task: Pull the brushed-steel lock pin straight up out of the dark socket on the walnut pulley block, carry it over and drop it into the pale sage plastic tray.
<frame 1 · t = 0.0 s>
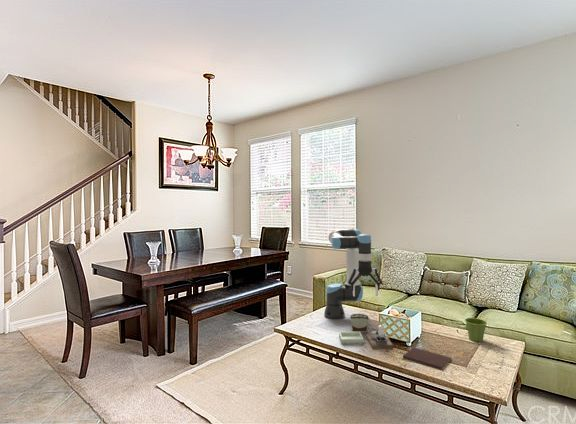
hand: (365, 295, 198), 28 cm above the table, fingers open, 13 cm apart
notebook: (426, 360, 176), on the table
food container: (359, 330, 218), on the table
lock pin: (381, 342, 192), point 2 cm above the table, touching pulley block
tray: (351, 340, 202), on the table
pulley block: (379, 342, 197), on the table
plant pot: (476, 340, 199), on the table
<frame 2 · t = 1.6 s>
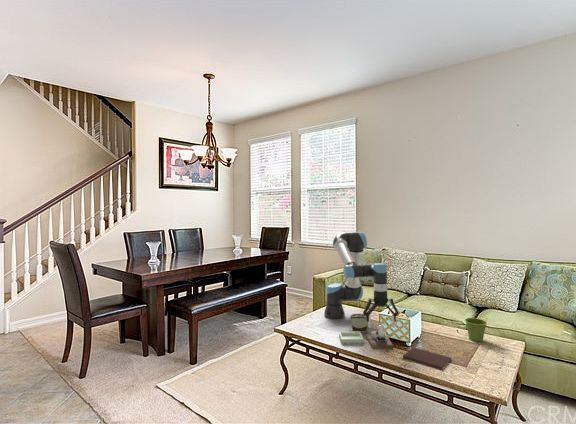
hand: (381, 326, 192), 11 cm above the table, fingers open, 13 cm apart
nothing on the table moved.
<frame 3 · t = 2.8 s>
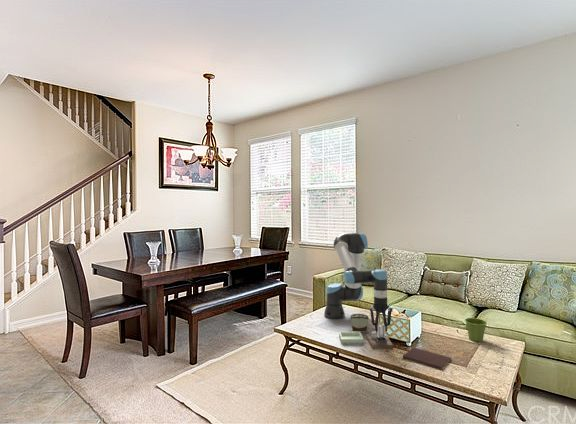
hand: (381, 336, 192), 6 cm above the table, fingers closed on lock pin, 3 cm apart
lock pin: (381, 342, 192), point 2 cm above the table, touching gripper
everything else where it was.
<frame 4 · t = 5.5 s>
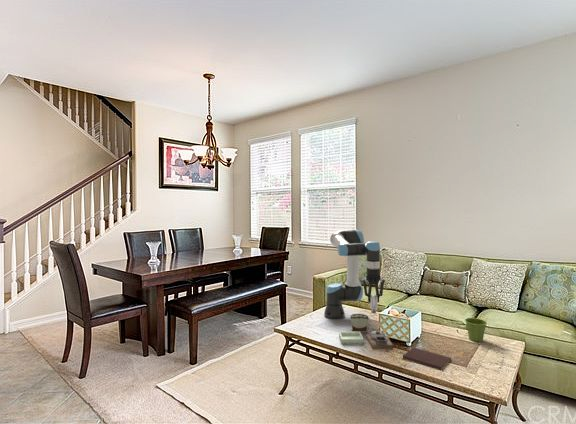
hand: (373, 307, 194), 22 cm above the table, fingers closed on lock pin, 2 cm apart
lock pin: (373, 312, 194), point 19 cm above the table, touching gripper
everything else where it was.
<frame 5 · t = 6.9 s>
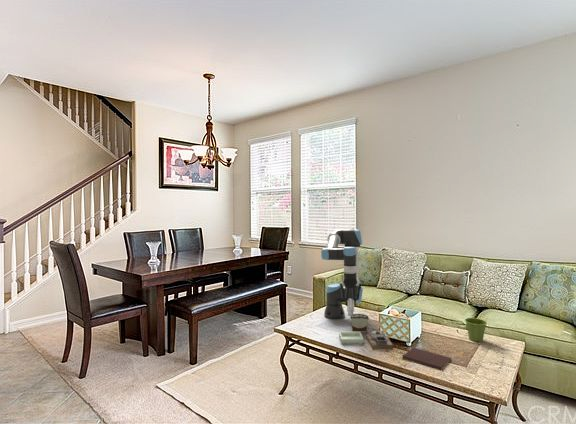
hand: (350, 311, 201), 18 cm above the table, fingers closed on lock pin, 2 cm apart
lock pin: (350, 315, 201), point 15 cm above the table, touching gripper
everything else where it was.
when the fingers open (7 cm above the table, at t = 8.3 s): lock pin drops 3 cm, resting on tray.
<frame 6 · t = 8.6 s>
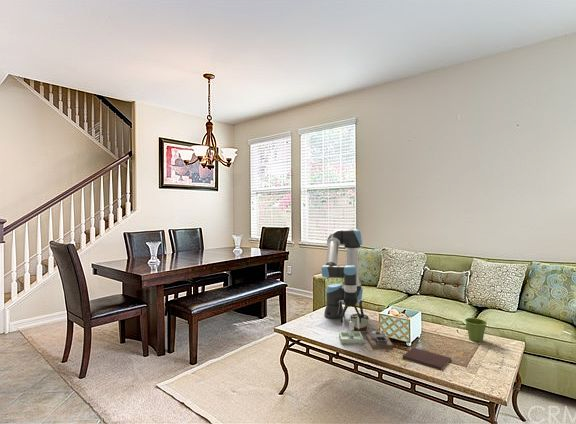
hand: (350, 328, 202), 7 cm above the table, fingers open, 8 cm apart
lock pin: (351, 338, 202), point 1 cm above the table, touching tray
everything else where it was.
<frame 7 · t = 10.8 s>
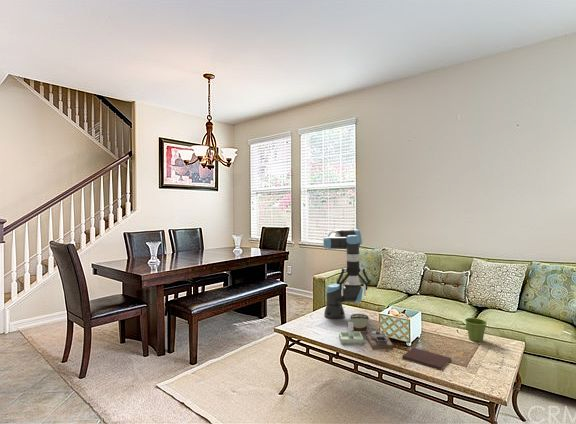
hand: (353, 295, 202), 27 cm above the table, fingers open, 13 cm apart
nothing on the table moved.
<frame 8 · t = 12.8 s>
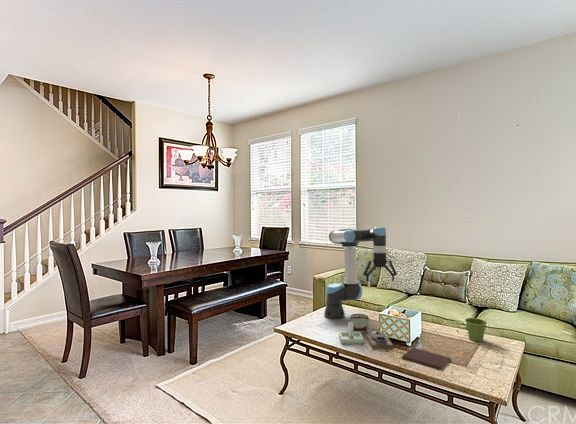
hand: (380, 286, 205), 32 cm above the table, fingers open, 13 cm apart
nothing on the table moved.
at the end: lock pin inside the target area on the tray (0.0 cm from its centre), point 1.0 cm above the tray's base; the gripper is holding nothing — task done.
